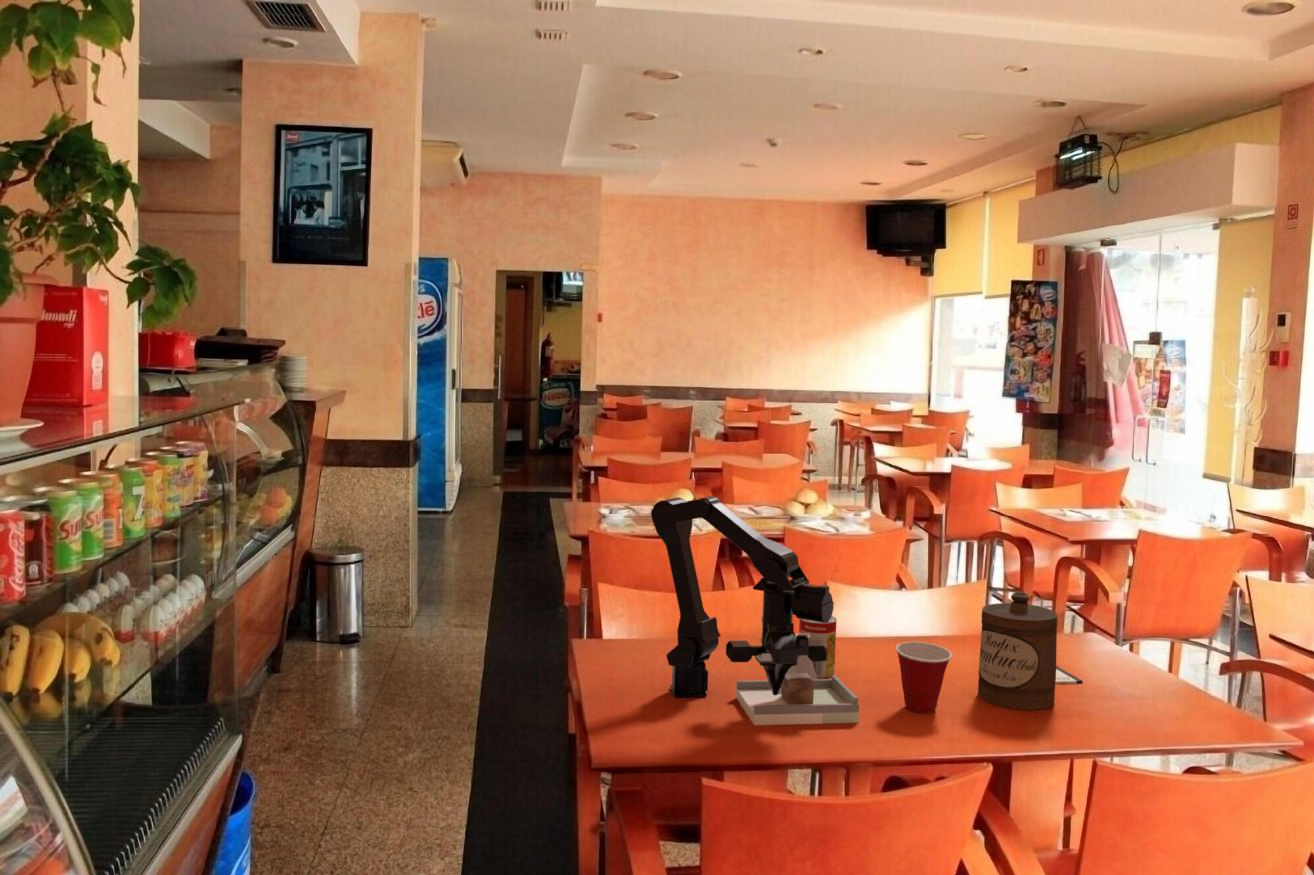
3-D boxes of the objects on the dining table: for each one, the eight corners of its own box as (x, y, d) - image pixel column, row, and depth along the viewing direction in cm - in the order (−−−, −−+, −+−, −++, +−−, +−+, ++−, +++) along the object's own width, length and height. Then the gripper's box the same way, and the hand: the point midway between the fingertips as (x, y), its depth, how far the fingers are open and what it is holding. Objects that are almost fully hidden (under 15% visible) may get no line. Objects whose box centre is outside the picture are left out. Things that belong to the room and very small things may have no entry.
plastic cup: (917, 721, 213) (920, 659, 212) (881, 704, 222) (884, 644, 221) (961, 713, 218) (964, 653, 217) (924, 697, 227) (926, 639, 226)
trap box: (754, 725, 208) (755, 701, 208) (736, 697, 224) (736, 675, 223) (858, 722, 211) (859, 699, 211) (833, 695, 227) (834, 674, 226)
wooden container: (963, 696, 229) (968, 589, 227) (1004, 683, 238) (1009, 581, 237) (1028, 715, 218) (1034, 604, 216) (1068, 701, 227) (1074, 594, 225)
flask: (817, 688, 232) (818, 640, 231) (781, 685, 233) (783, 637, 232) (819, 678, 239) (821, 631, 238) (785, 675, 240) (786, 629, 239)
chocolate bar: (1041, 657, 257) (1082, 680, 240) (1041, 661, 258) (1082, 685, 240) (1004, 658, 256) (1043, 681, 238) (1004, 662, 256) (1042, 686, 238)
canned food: (833, 668, 246) (835, 614, 245) (835, 679, 238) (837, 623, 237) (797, 666, 247) (799, 612, 246) (798, 677, 239) (800, 621, 238)
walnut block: (787, 704, 214) (788, 681, 214) (781, 696, 219) (782, 673, 219) (813, 703, 215) (814, 680, 215) (806, 695, 220) (807, 673, 219)
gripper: (738, 625, 206) (735, 709, 207) (837, 625, 208) (833, 707, 210) (726, 611, 217) (724, 690, 218) (820, 610, 219) (817, 689, 221)
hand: (774, 694), depth 216 cm, fingers closed
